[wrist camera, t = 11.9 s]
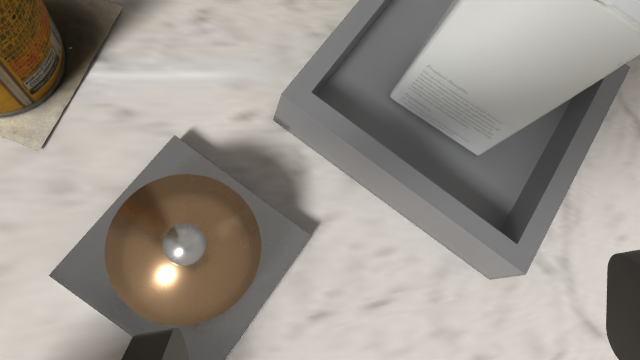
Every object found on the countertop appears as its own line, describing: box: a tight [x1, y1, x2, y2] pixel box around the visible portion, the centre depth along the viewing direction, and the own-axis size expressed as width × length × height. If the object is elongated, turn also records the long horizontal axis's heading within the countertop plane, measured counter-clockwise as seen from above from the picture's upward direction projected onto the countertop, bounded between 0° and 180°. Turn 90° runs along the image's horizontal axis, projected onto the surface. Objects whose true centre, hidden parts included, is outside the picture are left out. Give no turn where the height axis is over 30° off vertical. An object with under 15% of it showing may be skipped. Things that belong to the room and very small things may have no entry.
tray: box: [274, 0, 630, 280], centre depth 26 cm, size 14×14×3 cm
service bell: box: [49, 135, 311, 360], centre depth 21 cm, size 8×8×4 cm
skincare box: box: [390, 0, 640, 155], centre depth 22 cm, size 6×4×12 cm
